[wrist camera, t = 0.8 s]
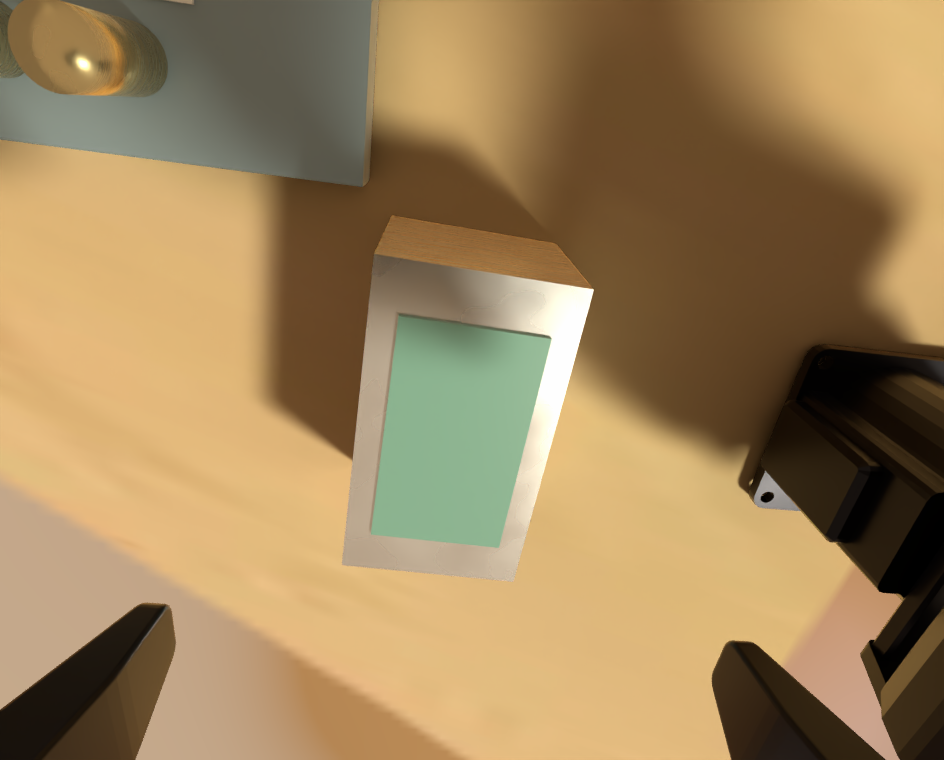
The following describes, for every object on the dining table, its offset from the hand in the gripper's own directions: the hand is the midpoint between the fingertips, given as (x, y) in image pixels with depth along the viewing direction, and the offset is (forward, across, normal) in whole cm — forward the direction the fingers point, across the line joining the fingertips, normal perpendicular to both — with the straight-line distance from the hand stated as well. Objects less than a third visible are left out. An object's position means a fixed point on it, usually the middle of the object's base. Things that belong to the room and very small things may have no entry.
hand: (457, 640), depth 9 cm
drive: (+11, 0, 0) cm, 11 cm away
